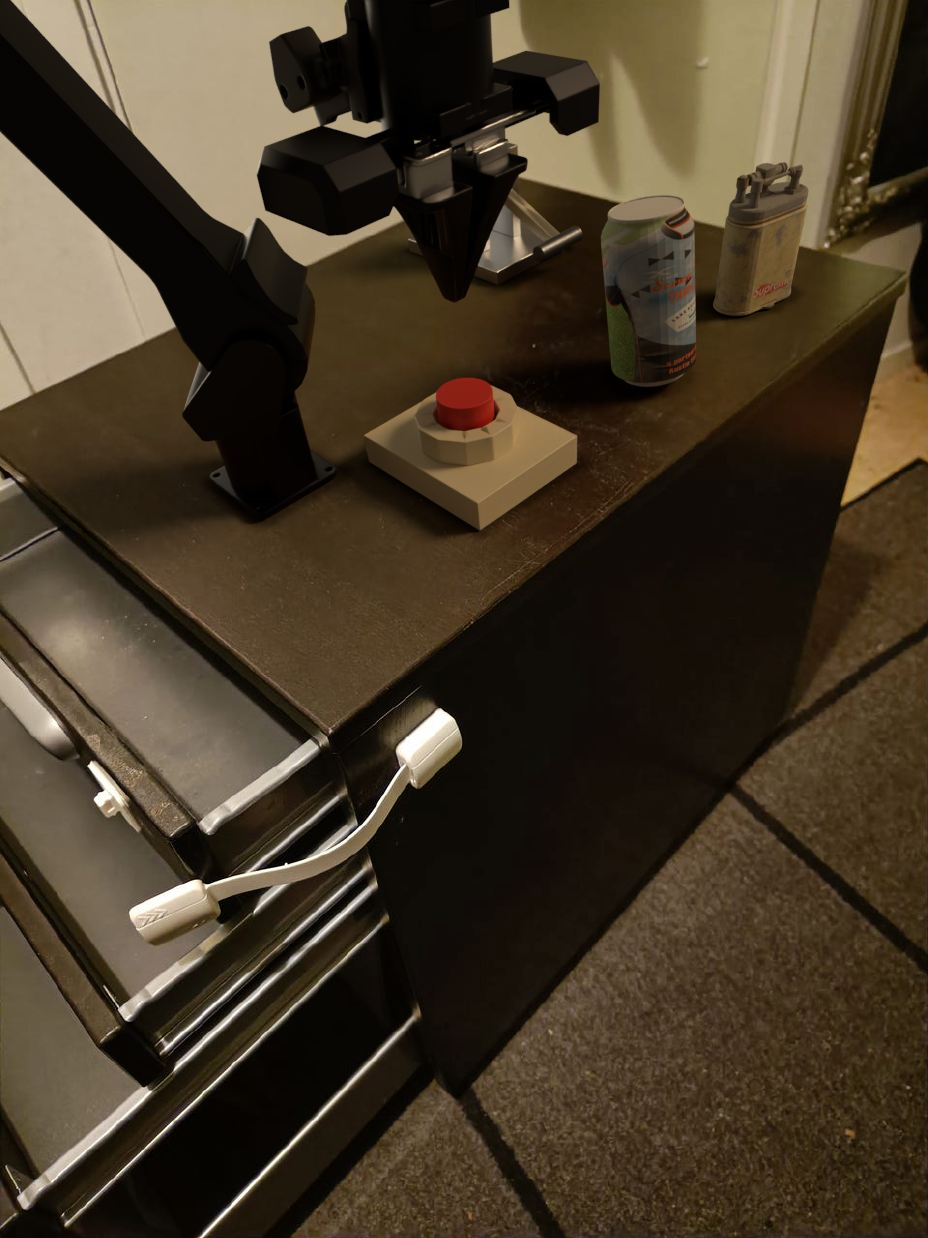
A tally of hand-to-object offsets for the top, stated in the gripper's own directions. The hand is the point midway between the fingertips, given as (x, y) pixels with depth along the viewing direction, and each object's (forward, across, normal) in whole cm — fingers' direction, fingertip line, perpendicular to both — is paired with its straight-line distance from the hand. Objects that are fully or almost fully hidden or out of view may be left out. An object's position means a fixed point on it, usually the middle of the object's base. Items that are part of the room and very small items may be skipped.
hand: (454, 298), depth 48 cm
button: (+8, 0, 0) cm, 8 cm away
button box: (+11, 0, 0) cm, 11 cm away
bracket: (+11, -24, -22) cm, 35 cm away
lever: (+7, -24, -19) cm, 31 cm away
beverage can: (+12, -16, +3) cm, 20 cm away
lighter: (+11, -30, +3) cm, 32 cm away
